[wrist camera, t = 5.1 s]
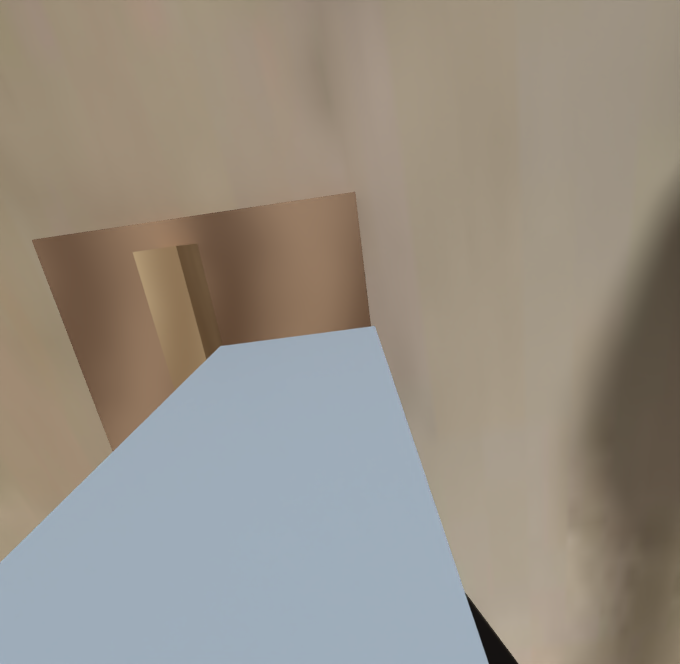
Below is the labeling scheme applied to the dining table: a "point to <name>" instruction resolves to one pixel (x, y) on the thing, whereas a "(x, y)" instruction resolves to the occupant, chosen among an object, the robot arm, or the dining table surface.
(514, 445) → the dining table surface
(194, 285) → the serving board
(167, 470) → the blue block
